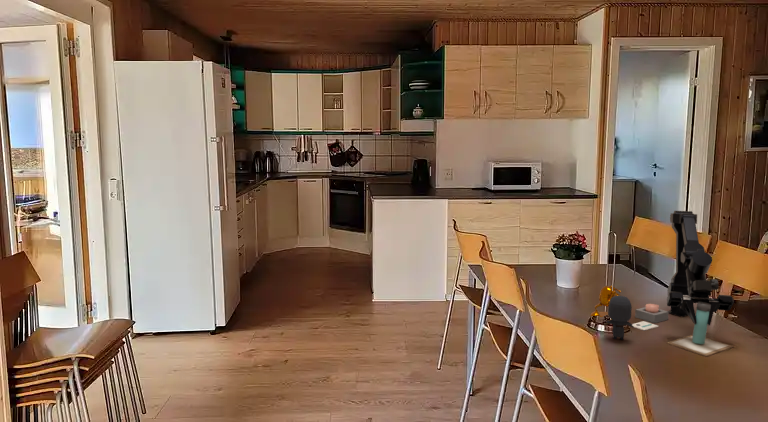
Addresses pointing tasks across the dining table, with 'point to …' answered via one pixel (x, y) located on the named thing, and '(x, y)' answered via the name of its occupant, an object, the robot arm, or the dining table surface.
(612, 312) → the toy
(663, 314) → the button box
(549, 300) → the dining table surface
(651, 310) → the button
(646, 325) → the card
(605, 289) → the figurine
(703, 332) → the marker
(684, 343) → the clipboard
